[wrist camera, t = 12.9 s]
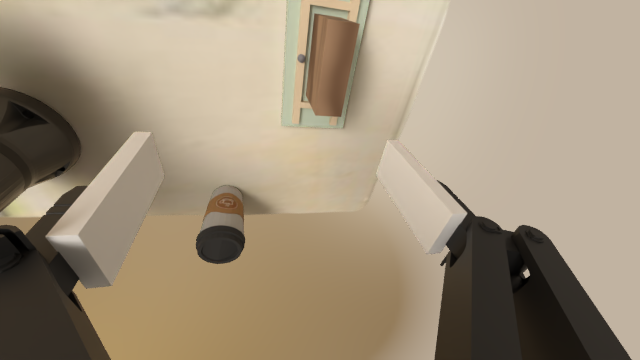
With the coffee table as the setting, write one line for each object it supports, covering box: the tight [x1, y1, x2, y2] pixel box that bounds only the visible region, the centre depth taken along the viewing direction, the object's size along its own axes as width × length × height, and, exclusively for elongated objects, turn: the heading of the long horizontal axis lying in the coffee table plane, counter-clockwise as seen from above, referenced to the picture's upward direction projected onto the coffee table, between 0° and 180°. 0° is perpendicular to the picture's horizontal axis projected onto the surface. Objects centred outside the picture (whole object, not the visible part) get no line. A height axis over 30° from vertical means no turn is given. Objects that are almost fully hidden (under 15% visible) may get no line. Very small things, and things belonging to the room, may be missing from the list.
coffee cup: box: [196, 185, 245, 264], centre depth 49 cm, size 8×8×15 cm
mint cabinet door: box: [281, 0, 370, 128], centre depth 40 cm, size 12×24×3 cm, turn 172°
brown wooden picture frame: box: [306, 13, 360, 117], centre depth 36 cm, size 4×12×9 cm, turn 172°
